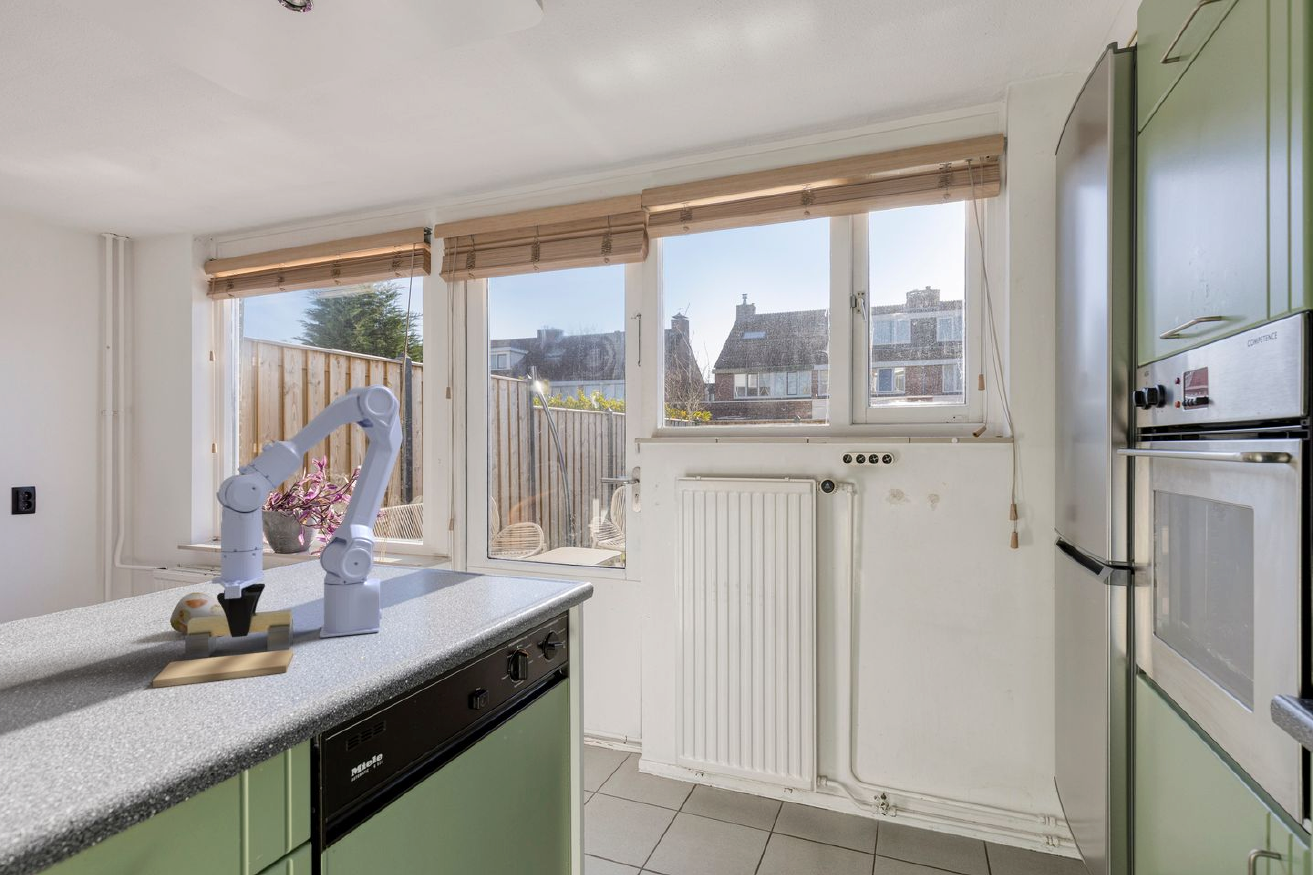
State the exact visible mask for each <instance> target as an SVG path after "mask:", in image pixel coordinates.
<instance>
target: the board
mask: <svg viewBox="0 0 1313 875" xmlns="http://www.w3.org/2000/svg"><path fill="white" fill-rule="evenodd" d="M293 656H294V649H293V648H292V649H291V648H289V650H281V651H271V652H268V651H264V652H254V653H245V654H238V655H237V654H235V655H225V656H216V657H209V658H205V659H196V660H186V661H185V660H179V661H178V660H177V661H170V663H168V664H167V665H166V666H165V667H164V669H162V671H161V672H160V673H158V675H157V676H156V677H155V678H154V679H153V680H152V688H154V689H155V688H162V687H163V688H164V687H172V686H181V685H188V684H197V683H198V684H199V683H204V682H213V681H215V682H216V681H223V680H231V679H240V678H248V677H249V678H250V677H255V676H256V677H257V676H266V675H274V674H282V673H287V670H288V668H289V666H290V664H291V661H292V660H293Z"/></svg>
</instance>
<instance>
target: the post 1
mask: <svg viewBox="0 0 1313 875" xmlns="http://www.w3.org/2000/svg"><path fill="white" fill-rule="evenodd" d="M184 642H185V643H184V645H185V646H184V647H185V648H184V650H185V651H184V661H186V660H196V659H205V658H211V655H212V654H213V653H214V652H215V651H216V650H217V636H213V637H210V633H205V634H194V635H188V634H186V636H185V641H184Z"/></svg>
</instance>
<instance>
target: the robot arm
mask: <svg viewBox="0 0 1313 875" xmlns="http://www.w3.org/2000/svg"><path fill="white" fill-rule="evenodd" d="M398 400H399V399H397V397H396V396H395V395H394V393H393V392H392V390H391V389H390V388H388V387H387V386H385V385H382V384H372V385H367V386H357V387H353V388H350V389H349V390H348V391H346V392H345V394H344V395H341V396H339V397H337V398H335V399H334V400H333V401H332V402H330V403H329V404H328V405H327V406H326V407H325V408H323V410H321V412H319V413H318V414H317V415H316V416H315V417H314V418H313V419H312V420H311V421H310V422H308V423H307V424H306V425H305V426H304V427H303V428H302V429H300V430H299V431H298V432H297V433H296V434H295V435H294V436H293V437H291V439H289V440H286V441H283V440H282V441H281V440H276V441H274V442H273V443H266V444H264V445H263V446H262V447H261V450H262V452H261V453H260V454H258V455H257V456H256V457H255V458H254V459H252V460H251V461H250V462H249V463H248V464H246V465H240V466H239V467H238V468H237V471H238V472H239V474H236V475H231V476H229V477H227V478H226V479H225V480H223V481H222V482H221V484H220V486H219V488H218V491H217V492H216V498H217V500H218V502H219V504H221V505H222V507H221V522H220V576H216V577H213V578H212V579H211V584H219V585H221V586H222V587H223V589H224V590H223V592H219V593H218V594H217V596H216V599H217V603H218V604H220V605H221V606H222V608H223V610H224V612H225V615H226V618H227V621H228V626H229V630H230V633H231V635H230V637H231V638H242V637H247V636H248V635H249V633H248V632H249V628H250V622H251V616H252V613H257V612H256V611H257V607H258V604H259V600H260V598H261V595H262V593H263V591H264V589H265V588H266V584H265V583H259V582H262V581H264V580H265V574H264V572H263V570H264V569H263V568H264V567H263V565H264V564H263V563H264V561H263V560H264V559H263V556H264V551H263V546H264V545H263V542H264V540H263V539H264V536H263V535H264V527H263V525H264V522H263V506H264V505H265V504H266V503H267V502H268V498H269V493H270V492H273V491H275V490H276V489H277V488H278V487H279V486H281V485H282V484H283V483H284V482H285V481H286V480H288V479H289V478H290V477H291V476H292V475H293V474H294V473H296V472H297V471H298V470H299V469H300V468H302V466H303V465H304V457H305V454H306V453H308V452H309V451H310V450H311V449H312V448H314V447H315V446H316V445H317V444H319V443H320V442H321V441H323V440H325V439H326V438H327V437H328V436H329V435H330V434H332V433H333V432H335V431H336V430H337V429H338V428H340V427H341V426H342V425H346V424H347V425H348V424H352V423H356V424H357V425H359V427H361V429H362V430H363V432H364V433H365V435H366V436H367V438H368V440H369V443H368V446H367V450H366V453H365V455H364V459H363V461H362V465H361V466H360V469H359V473H358V475H357V479H356V482H355V484H354V487H353V490H352V494H351V497H350V499H349V502H348V505H347V507H346V511H345V513H344V517H343V519H342V522H341V523H340V525H339V526H338V527H337V528H336V529H335V530H334V531H333V534H332V536H331V538H330V541H329V542H328V543H327V544H326V545H325V546H324V547H323V549H322V550H321V552H320V554H319V564H320V567H321V568H322V569H323V570H324V571H325V572H326V574H325V576H324V578H323V624H322V626H321V629H320V632H319V638H330V637H338V636H340V637H341V636H349V635H360V634H367V633H368V634H370V633H379V632H380V631H381V630H380V628H381V627H380V625H381V620H382V619H383V611H382V610H383V609H382V608H381V578H372V577H371V578H369V575H370V574H371V572H372V570H373V567H374V563H375V562H374V560H375V559H374V548H375V544H376V541H375V536H374V532H373V531H374V530H373V529H374V527H375V523H376V521H377V517H378V514H379V512H380V509H381V505H382V503H383V499H384V497H385V494H386V491H387V488H388V486H389V485H388V484H389V481H390V479H391V475H392V474H393V469H394V466H395V463H396V460H397V457H398V456H399V455H398V454H399V451H400V449H401V445H402V443H403V431H402V424H401V418H400V414H399V411H400V407H401V403H400V402H399V401H398Z"/></svg>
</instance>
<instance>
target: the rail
mask: <svg viewBox="0 0 1313 875" xmlns="http://www.w3.org/2000/svg"><path fill="white" fill-rule="evenodd" d="M292 619H293V609H281V610H271V611H258V612H255V613H252V616H251V622H250V628H249V632H248V634H255V633H264V632H265V633H266V632H268V628H269V627H279V626H290V628H291V626H292ZM205 633H210V637H213V636H216V637H221V636H231V633H230V630H229V626H228V621H227V618H226V615H222V616H210V617H198V618H192V619H191V620H190V621H188V634H187V635H194V634H205Z"/></svg>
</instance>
